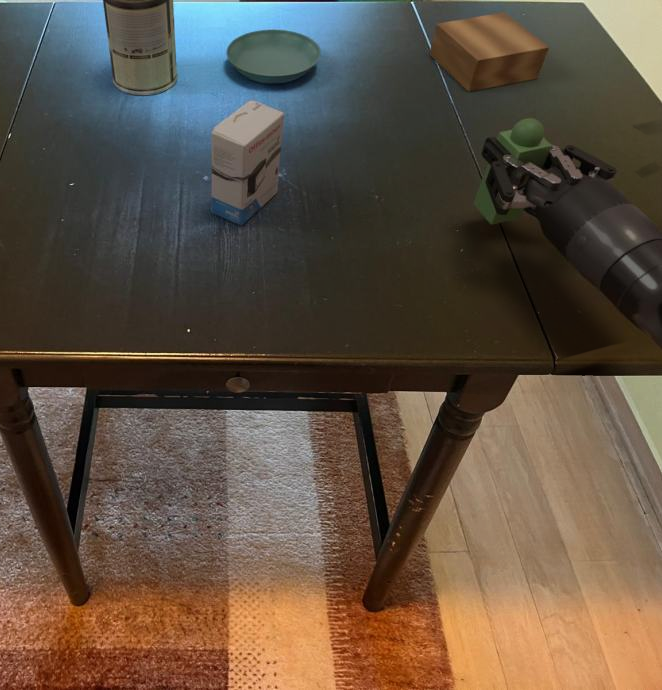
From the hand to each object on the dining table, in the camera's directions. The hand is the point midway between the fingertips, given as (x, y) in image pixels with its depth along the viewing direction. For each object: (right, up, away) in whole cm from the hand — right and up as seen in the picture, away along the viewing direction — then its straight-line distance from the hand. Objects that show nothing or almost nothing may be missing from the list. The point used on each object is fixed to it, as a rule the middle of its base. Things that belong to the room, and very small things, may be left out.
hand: (505, 140), depth 77 cm
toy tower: (+1, -7, +5) cm, 8 cm away
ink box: (-29, -5, +10) cm, 31 cm away
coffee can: (-43, +19, +30) cm, 56 cm away
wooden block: (+10, +21, +31) cm, 39 cm away
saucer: (-23, +21, +32) cm, 45 cm away
